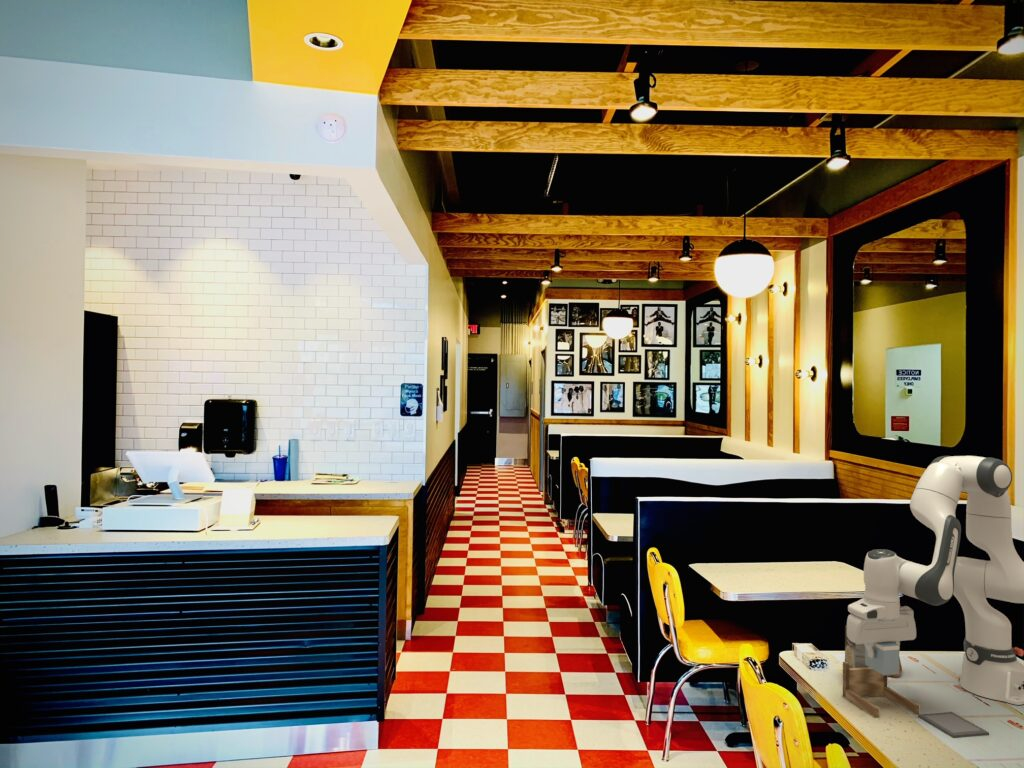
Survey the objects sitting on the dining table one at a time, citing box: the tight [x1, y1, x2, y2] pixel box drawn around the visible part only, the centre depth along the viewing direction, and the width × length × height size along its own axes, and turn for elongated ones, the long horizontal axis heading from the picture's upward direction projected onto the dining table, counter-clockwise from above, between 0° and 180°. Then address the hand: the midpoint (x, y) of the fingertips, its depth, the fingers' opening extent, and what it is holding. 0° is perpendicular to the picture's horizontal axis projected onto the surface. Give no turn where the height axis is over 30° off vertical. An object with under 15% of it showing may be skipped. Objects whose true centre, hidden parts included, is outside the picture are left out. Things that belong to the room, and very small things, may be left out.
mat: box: [917, 711, 990, 739], centre depth 165 cm, size 11×11×1 cm
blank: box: [865, 642, 900, 675], centre depth 176 cm, size 5×7×8 cm
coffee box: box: [844, 624, 868, 668], centre depth 191 cm, size 9×6×16 cm
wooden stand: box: [842, 661, 920, 719], centre depth 176 cm, size 14×13×10 cm
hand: (881, 656), depth 176 cm, fingers closed on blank, 5 cm apart
